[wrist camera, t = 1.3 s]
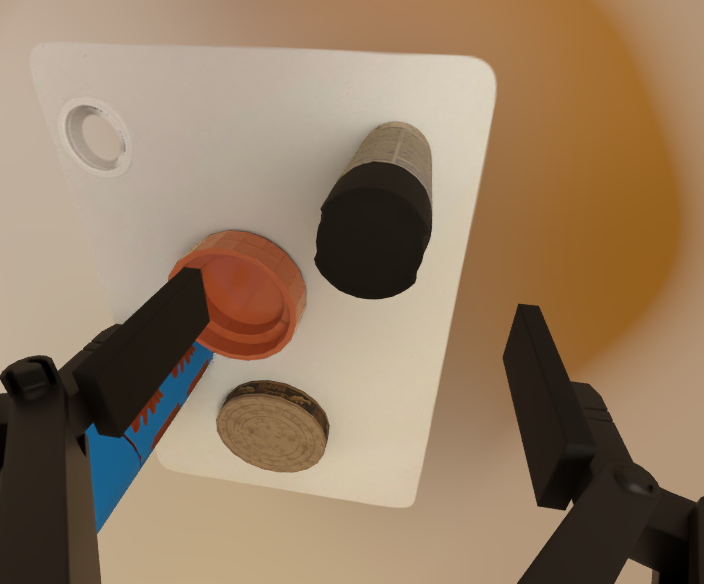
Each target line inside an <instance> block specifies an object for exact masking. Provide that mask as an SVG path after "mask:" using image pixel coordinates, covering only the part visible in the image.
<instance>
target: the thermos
mask: <svg viewBox="0 0 704 584" xmlns="http://www.w3.org/2000/svg"><path fill="white" fill-rule="evenodd" d="M212 358H213V352H212V351H210V350H209V349H207V348H206V347H204V346H202V345H201V344H199V343H198V342H196V341H195V342H194V343H193V344H192V346H191V347H190V348H189V350H188V351H187V352H186V353H185V355H184V356H183V357H182V359H181V360H180V361H179V363H178V364H177V365H176V366H175V368H174V369H173V370H172V372H171V373H170V374H169V376H168V377H167V378H166V379H165V381H164V382H163V383H162V385H161V386H160V387H159V389H158V390H157V391H156V392H155V394H154V395H153V396H152V398H151V399H150V400H149V402H148V403H147V404H146V405H145V407H144V408H143V409H142V411H141V412H140V413H139V415H138V416H137V417H136V418H135V420H134V421H133V422H132V424H131V425H130V426H129V428H128V429H127V430H126V432H125V433H124V434H123V435H122V437H121V438H115V437H109V436H102V435H99V434H98V432H97V430H96V428H95V425H94V423H93V424H92V425H91V426H90V427H89V428H88V429H87V430H86V435H87V437H88V441H89V452H90V463H91V474H92V485H93V497H94V508H95V519H96V530H97V534H98V532H99V531H100V530H101V528H102V526H103V525H104V523H105V522H106V520H107V519H108V517H109V516H110V514H111V513H112V511H113V510H114V508H115V507H116V505H117V504H118V502H119V501H120V499H121V498H122V496H123V495H124V493H125V492H126V490H127V489H128V487H129V486H130V484H131V483H132V481H133V480H134V478H135V477H136V475H137V474H138V472H139V471H140V469H141V467H142V466H143V465H144V463H145V461H146V460H147V459H148V457H149V455H150V454H151V452H152V451H153V449H154V448H155V446H156V445H157V443H158V442H159V440H160V439H161V437H162V436H163V434H164V433H165V431H166V430H167V428H168V427H169V425H170V424H171V422H172V421H173V419H174V418H175V416H176V415H177V413H178V412H179V410H180V409H181V407H182V406H183V404H184V403H185V401H186V400H187V398H188V397H189V395H190V394H191V392H192V391H193V389H194V388H195V386H196V384H197V383H198V381H199V380H200V378H201V377H202V375H203V373H204V372H205V370H206V368H207V366H208V365H209V363H210V361H211V359H212Z"/></svg>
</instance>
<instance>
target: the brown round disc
mask: <svg viewBox="0 0 704 584" xmlns="http://www.w3.org/2000/svg"><path fill="white" fill-rule="evenodd" d="M216 423H217V432H218V434H219V436H220V438H221V439H222V441H223V443H224V444H225V445H226V446H227V447H228V448H229V449H230V450H231V452H232V453H233V454H235V455H236V456H238V457H239V458H241V459H242V460H244V461H245V462H247V463H249V464H252V465H254V466H257V467H259V468H261V469H265V470H270V471H275V472H297V471H302V470H306V469H308V468H310V467H312V466H313V465H315V464H317V463H318V462H319V460H320V459H321V457H322V456H323V455H324V451H325V447H326V443H327V439H328V434H329V426H330V425H329V422H328V419H327V416H326V413H325V412H324V411H323V409H322V408H321V407H320V406H319V404H318V403H317V402H316V401H315V400H314V399H312V398H311V397H310V396H308V395H307V394H306V393H304V392H303V391H301V390H299V389H296V388H294V387H292V386H290V385H287V384H284V383H279V382H274V381H251V382H248V383H246V384H243V385H240V386H238V387H237V388H236V389H234V390H233V391H232V392H231V393H230V394H229V395H228V397H227V399H226V401H225V403H224V404H223V406H222V408H221V410H220V412H219V415H218V417H217V419H216Z"/></svg>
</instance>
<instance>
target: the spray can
mask: <svg viewBox="0 0 704 584" xmlns="http://www.w3.org/2000/svg"><path fill="white" fill-rule="evenodd" d="M320 210H321V212H322V214H321V222H320V224H319V226H318V231H317V238H316V247H317V253H316V256H315V258H314V260H315V264H316V266H317V268H318V270H319V271H320V273H321V274H322V276H323V277H325V278H326V279H327V280H328V281H329V282H330V283H331V284H332V285H333V286H334V287H336V288H337V289H338V290H339V291H342V292H344V293H346V294H349V295H352V296H354V297H357V298H363V299H384V298H388V297H393V296H395V295H397V294H400V293H402V292H403V291H405V290H407V289H408V288H410V287H411V286H412V285H413V284H414V283H415V281H416V278H417V277H416V275H417V270H418V269H419V267H420V265H421V263H422V259H423V255H424V252H425V250H426V248H427V246H428V243H429V240H430V237H431V231H432V158H431V150H430V146H429V144H428V142H427V140H426V138H425V137H424V135H423V134H422V133H421V132H420V131H419V130H418V129H416V128H415V127H413V126H411V125H409V124H406V123H402V122H390V123H386V124H383V125H381V126H379V127H377V128H375V129H374V130H373V131H372V132H371V133H370V134H369V135H368V136H367V137H366V139H365V140H364V142H363V143H362V144H361V146H360V147H359V149H358V150H357V152H356V154H355V155H354V157H353V158H352V160H351V161H350V163H349V164H348V166H347V167H346V169H345V170H344V172H343V173H342V175H341V176H340V178H339V179H338V181H337V182H336V184H335V186H334V187H333V189H332V190H331V192H330V194H329V195H328V197H327V199H326V200H325V202H324V204H323V205H322V207H321V209H320Z"/></svg>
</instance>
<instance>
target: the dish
mask: <svg viewBox="0 0 704 584" xmlns="http://www.w3.org/2000/svg"><path fill="white" fill-rule="evenodd" d="M183 267H189V268H198V269H201V273H202V278H203V284H204V289H205V295H206V300H207V306H208V312H209V317H210V322H209V324H208V325H207V326H206V327H205V329H204V330H203V331H202V333H201V334H200V335H199V337H198V338H197V339H196V340H195V341H196V342H198V343H199V344H201V345H202V346H204V347H206V348H207V349H209V350H210V351H212V352H215V353H217V354H220V355H223V356H225V357H228V358H233V359H240V360H248V361H249V360H257V359H265V358H267V357H269V356H271V355H273V354H276V353H278V352H280V351H281V350H282V349H283V348H284V347H285V346H286V345H287V344H288V343H289V341H290V340H291V339H292V336H293V334H294V332H295V330H296V328H297V325H298V323H299V321H300V319H301V316H302V314H303V311H304V308H305V305H306V287H305V284H304V281H303V279H302V276H301V273H300V271H299V269H298V268H297V266H296V265H295V264H294V262H293V261H292V260H291V259H290V257H289V256H288V255H287V254H286V253H285V252H284V251H283V250H281V249H280V248H279V247H277V246H276V245H275V244H273V243H272V242H271V241H269V240H267V239H264V238H262V237H259V236H257V235H254V234H252V233H249V232H239V231H225V232H220V233H216V234H211V235H209V236H208V237H206V238H205V239H204V240H202V241H201V242H199V243H198V244H196V245H195V246H194V247H193V248H192V249H191V250H190V251H189V252H188V253H187V254H185V255H184V256H183V257H182V258H181V259H180V260H179V261H178V262H177V263H176V265H175V266H174V268H173V270H172V271H171V273H170V275H169V278H168V281H169V280H170V279H172V278H173V277H174V276H175V275H176V274H177V273H178V272H179V271H180V270H181V269H182V268H183Z"/></svg>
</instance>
